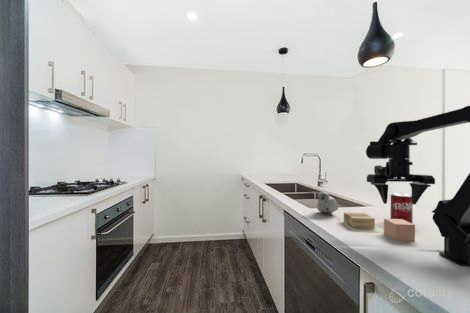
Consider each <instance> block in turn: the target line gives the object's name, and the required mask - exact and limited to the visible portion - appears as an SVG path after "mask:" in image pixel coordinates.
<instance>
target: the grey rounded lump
mask: <svg viewBox="0 0 470 313" xmlns="http://www.w3.org/2000/svg"><path fill="white" fill-rule="evenodd" d="M317 198H318V199H317V202H318V203H317V204H316V209H317V211H318V212H320V213H323V214H329V215H330V214H333V213H334V212H336V211H338V210H339V206H338V201H337V200H336V199H335V198H334V197H333V196H330V195H329V194H328V193H327V192H325V191H324V190H323V191H319V193H318V194H317Z"/></svg>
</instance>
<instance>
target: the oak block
mask: <svg viewBox="0 0 470 313" xmlns="http://www.w3.org/2000/svg"><path fill="white" fill-rule="evenodd" d="M343 218H344V222H345V223H346V224H347V225H349V226H350V227H351V228H355V229H375V225H376V224H375V223H376V222H375V221H376V219H375V217H372V216H370V215H368V214H367V213H365V212H351V211H350V212H349V211H347V212H345V211H344V212H343Z"/></svg>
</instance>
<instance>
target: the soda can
mask: <svg viewBox="0 0 470 313" xmlns="http://www.w3.org/2000/svg"><path fill="white" fill-rule="evenodd" d="M413 209H414V204H412V195H410V194H406V193H391V195H390V214H389V215H390V218H389V219H403V220H405V221H407V222H410V223H412V224H414V223H413V221H414V220H413V218H414V217H413V216H414V210H413Z"/></svg>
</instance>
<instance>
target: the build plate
mask: <svg viewBox="0 0 470 313" xmlns="http://www.w3.org/2000/svg"><path fill="white" fill-rule="evenodd" d="M336 219H337V220H338V221H340V223H342V224H344V225H345V226H346V227H347V228H348V229H350V230H352V232H361V233H363V232H365V233H384V228H382V227H379V226H378V225H376V224H375V229H355V228H351V227H350V226H349V225H347V224H346V223H345V222H344V217H342V218H341V217H337V218H336Z"/></svg>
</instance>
